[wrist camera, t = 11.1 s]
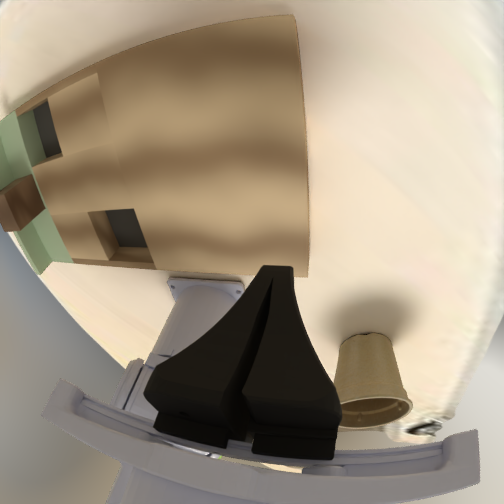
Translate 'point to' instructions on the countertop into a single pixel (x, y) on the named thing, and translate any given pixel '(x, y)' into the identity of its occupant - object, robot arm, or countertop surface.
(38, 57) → the countertop surface
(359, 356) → the flower pot
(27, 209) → the walnut block
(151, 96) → the box
